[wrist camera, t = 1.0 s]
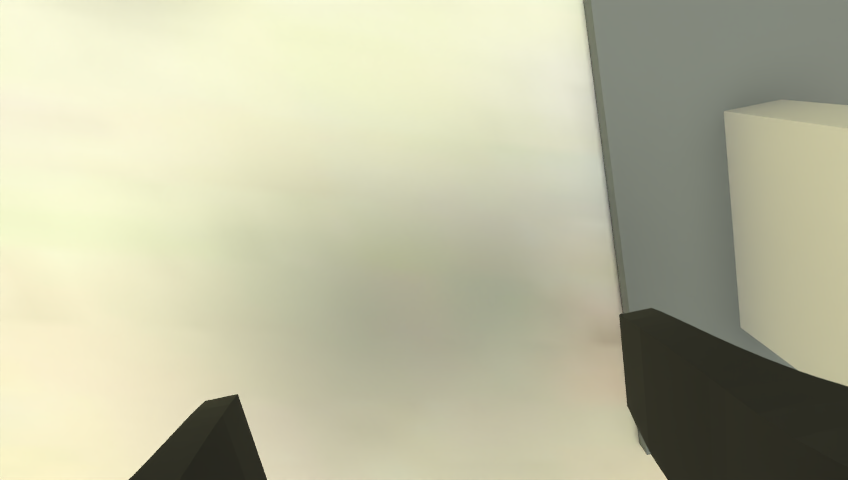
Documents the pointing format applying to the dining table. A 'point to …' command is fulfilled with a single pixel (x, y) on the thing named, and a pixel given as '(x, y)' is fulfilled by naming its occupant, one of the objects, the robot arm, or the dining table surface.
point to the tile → (792, 230)
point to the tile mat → (696, 134)
